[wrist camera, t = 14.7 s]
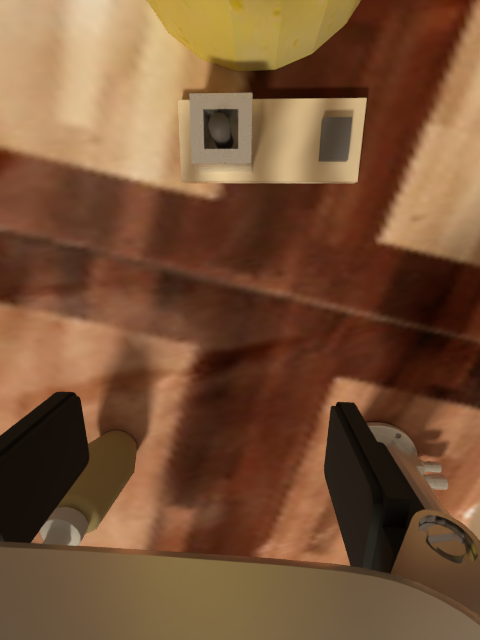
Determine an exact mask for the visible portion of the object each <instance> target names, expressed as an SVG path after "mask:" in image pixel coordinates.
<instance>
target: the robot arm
mask: <svg viewBox="0 0 480 640" xmlns="http://www.w3.org/2000/svg"><path fill="white" fill-rule="evenodd" d="M89 457H90V456H89V449H88V443H87V437H86V431H85V424H84V418H83V412H82V406H81V400H80V398H79V397H78V396H76V394H75V393H74V392H56V393H54V394H53V395H52V396H51V397H49V398H48V399H47V400H45V401H44V402H43V403H42V404H40V405H39V406H38V407H36V408H35V409H34V410H33V411H31V412H30V413H29V414H28V415H26V416H25V417H24V418H22V419H21V420H20V421H19V422H17V423H16V424H15V425H13V426H12V427H11V428H10V429H8V430H7V431H6V432H4V433H3V434H2V435H1V436H0V640H480V540H479V539H478V538H477V537H476V536H475V534H474V533H473V532H472V531H471V530H469V529H468V528H467V527H466V526H465V525H464V524H463V523H461V522H460V521H458V520H456V519H455V518H453V517H452V516H451V515H450V514H449V512H448V511H447V509H446V508H445V506H444V505H443V504H442V502H441V501H440V499H439V498H438V496H437V495H436V494H435V492H434V491H433V489H440V490H446V489H447V488H448V482H447V479H446V477H445V476H444V475H441V474H428V475H427V474H424V472H425V471H429V472H441V471H442V468H441V465H440V463H439V462H432V461H427V462H423V461H422V460H420V459H419V458H418V455H417V450H416V447H415V445H414V443H413V442H412V440H411V439H410V438H409V436H408V435H407V434H406V433H405V432H404V431H402V430H401V429H399V428H398V427H395V426H393V425H390V424H386V423H382V422H370V423H366V422H365V420H364V418H363V417H362V415H361V413H360V412H359V410H358V408H357V406H356V405H355V404H354V403H350V402H337V404H336V406H332V407H331V411H330V420H329V429H328V438H327V447H326V456H325V464H324V473H325V479H326V482H327V486H328V489H329V493H330V496H331V500H332V503H333V506H334V510H335V513H336V517H337V520H338V524H339V527H340V531H341V534H342V538H343V541H344V544H345V548H346V551H347V555H348V558H349V562H350V565H351V566H346V565H339V564H330V563H319V562H307V561H296V560H285V559H273V558H258V557H244V556H229V555H215V554H200V553H185V552H170V551H154V550H138V549H122V548H106V547H89V546H72V545H54V544H36V543H31V541H32V540H33V539H34V537H35V536H36V535H37V533H38V532H39V530H40V529H41V528H42V526H43V525H44V524H45V522H46V521H47V520H48V518H49V517H50V515H51V514H52V513H53V511H54V510H55V509H56V507H57V506H58V505H59V503H60V502H61V500H62V499H63V498H64V496H65V495H66V494H67V492H68V491H69V490H70V488H71V487H72V486H73V484H74V483H75V481H76V480H77V479H78V477H79V476H80V475H81V473H82V472H83V471H84V469H85V468H86V466H87V465H88V462H89Z"/></svg>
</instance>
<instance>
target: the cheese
mask: <svg viewBox="0 0 480 640" xmlns="http://www.w3.org/2000/svg"><path fill="white" fill-rule="evenodd" d="M147 1H148V3H149V4H150V6H151V7H152V9H153V10H154V12H155V13H156V15H157V16H158V18H159V19H160V21H161V22H162V24H163V25H164V27H165V28H166V30H167V31H168V33H169V34H171V35H172V36H173V37H174V38H176V39H177V40H178V41H179V42H180V43H182V44H183V45H184V46H185V47H187V48H188V49H189V50H190V51H192V52H193V53H194V54H195V55H196V56H198V57H199V58H200V59H202V60H205V61H208V62H211V63H214V64H217V65H220V66H223V67H226V68H229V69H231V70H234V71H257V70H275V69H278V68H280V67H282V66H285V65H287V64H289V63H292V62H294V61H296V60H299V59H301V58H303V57H306V56H308V55H310V54H312V53H313V52H315V51H316V50H317V49H318V48H319V47H320V46H321V45H322V44H324V43H325V42H326V41H327V40H328V39H329V38H330V37H331V36H333V35H334V34H335V33H336V32H337V31H338V30H339V29H341V28H342V27H343V26H344V25H345V24H346V23H347V21H348V20H349V18H350V17H351V15H352V14H353V12H354V10H355V9H356V7H357V6H358V4H359V3H360V1H361V0H147Z"/></svg>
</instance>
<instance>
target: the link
mask: <svg viewBox="0 0 480 640" xmlns="http://www.w3.org/2000/svg"><path fill="white" fill-rule="evenodd" d="M189 98H190V128H191V158H192V164H193V166H194V167H195V168H196V169H197V170H198V171H199V172H252V124H253V99H252V93H191V94H189ZM215 113H223V114H224V115H226V117H227V118H228V120H229V124H230V125H238V149H210V130H209V127H208V123H209V119H210V117H211V116H212V115H213V114H215Z"/></svg>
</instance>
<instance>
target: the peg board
mask: <svg viewBox="0 0 480 640" xmlns="http://www.w3.org/2000/svg"><path fill="white" fill-rule="evenodd" d="M366 101H367V98H313V99H253V124H252V172H199V171H198V170H197V169H196V168H195V167H194V166H193V164H192V158H191V128H190V100H178V112H179V136H180V160H181V181H182V182H183V183H356V182H357V180H358V172H359V163H360V154H361V145H362V136H363V127H364V119H365V110H366ZM208 127H209V130H210V149H238V125H230V124H229V120H228V118H227V117H226V115H224V114H223V113H215V114H213V115H212V116H211V117H210V119H209V123H208Z"/></svg>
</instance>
